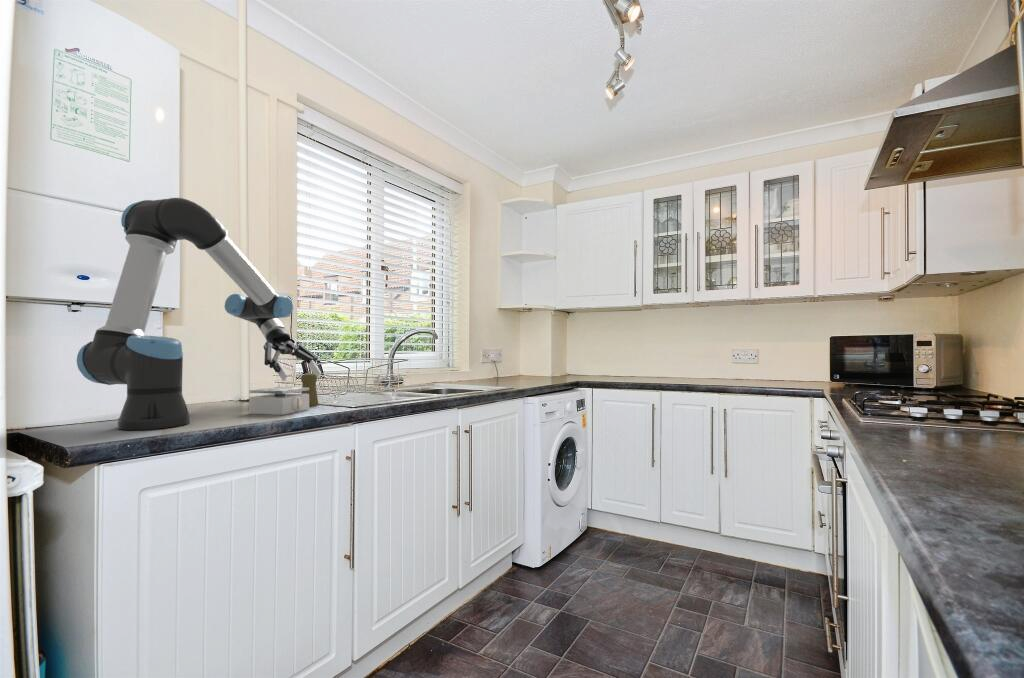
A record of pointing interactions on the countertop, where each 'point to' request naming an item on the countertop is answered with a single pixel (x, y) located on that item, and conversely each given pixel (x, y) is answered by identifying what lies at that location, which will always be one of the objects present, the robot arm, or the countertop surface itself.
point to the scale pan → (279, 390)
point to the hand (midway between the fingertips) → (302, 376)
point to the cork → (310, 387)
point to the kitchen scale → (278, 403)
